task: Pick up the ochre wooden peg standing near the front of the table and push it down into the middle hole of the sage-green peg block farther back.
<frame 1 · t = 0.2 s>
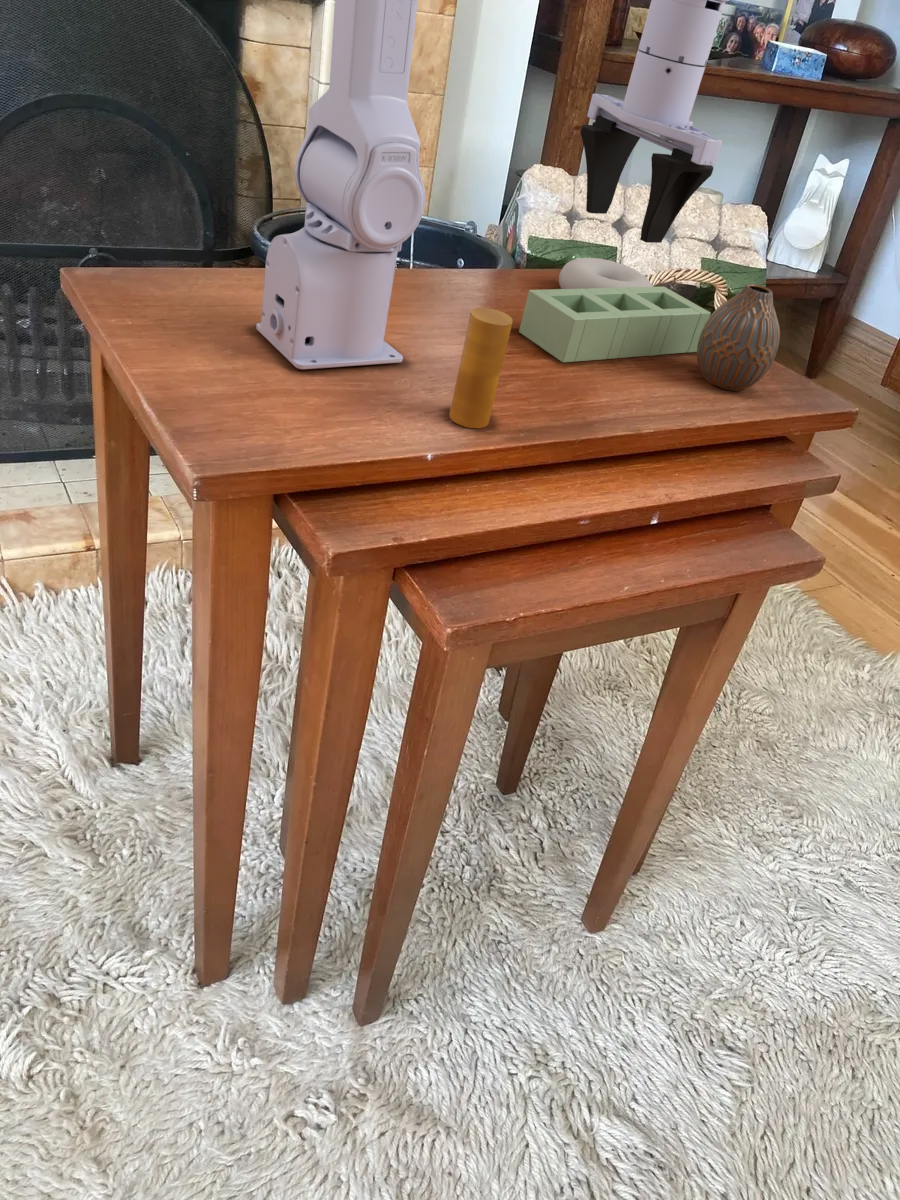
hand: (622, 226, 87), 10 cm above the table, tool pointing down, fingers open, 7 cm apart
peg: (468, 419, 72), on the table
vase: (723, 383, 89), on the table
peg block: (610, 342, 92), on the table
donut: (600, 303, 102), on the table
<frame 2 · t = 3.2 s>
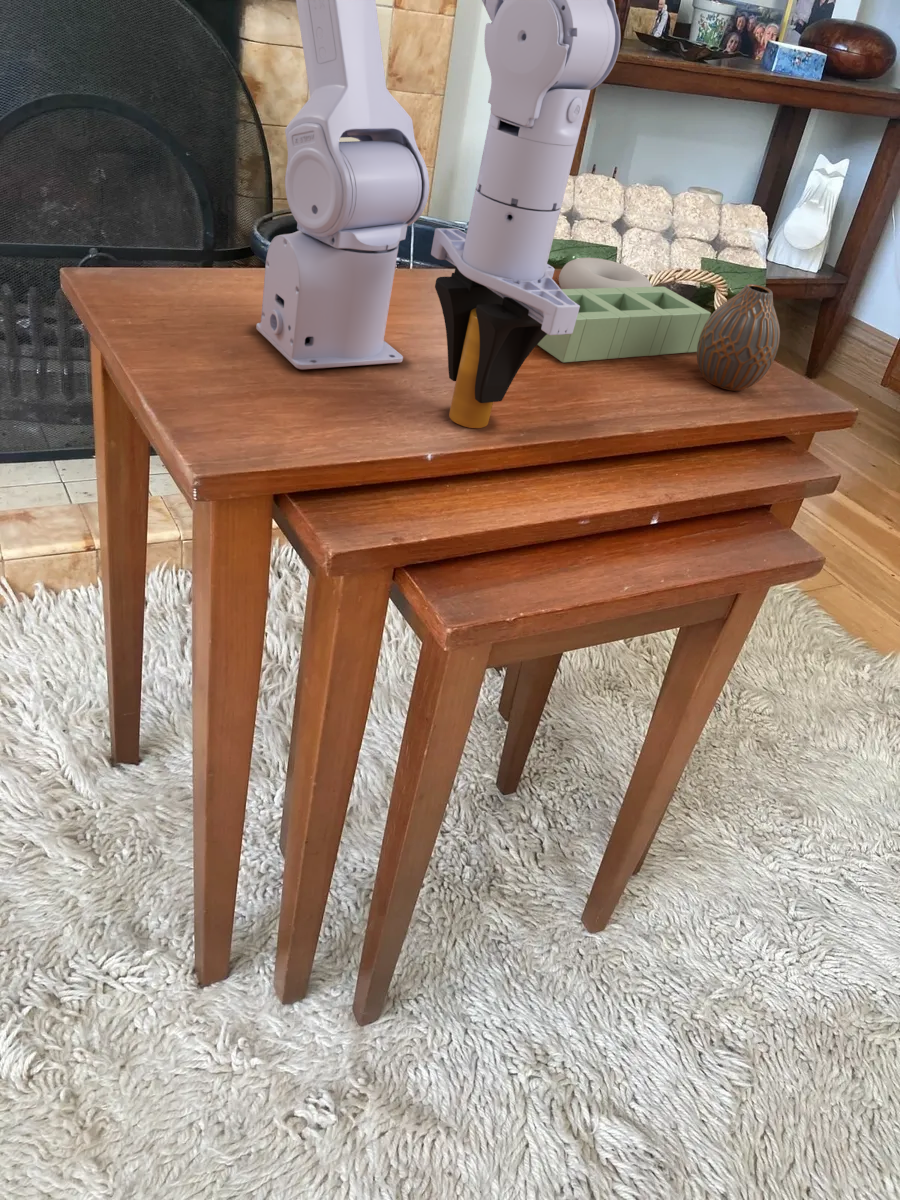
hand: (475, 389, 71), 2 cm above the table, tool pointing down, fingers closed on peg, 3 cm apart
peg: (468, 418, 72), on the table, touching gripper
everything else where it was.
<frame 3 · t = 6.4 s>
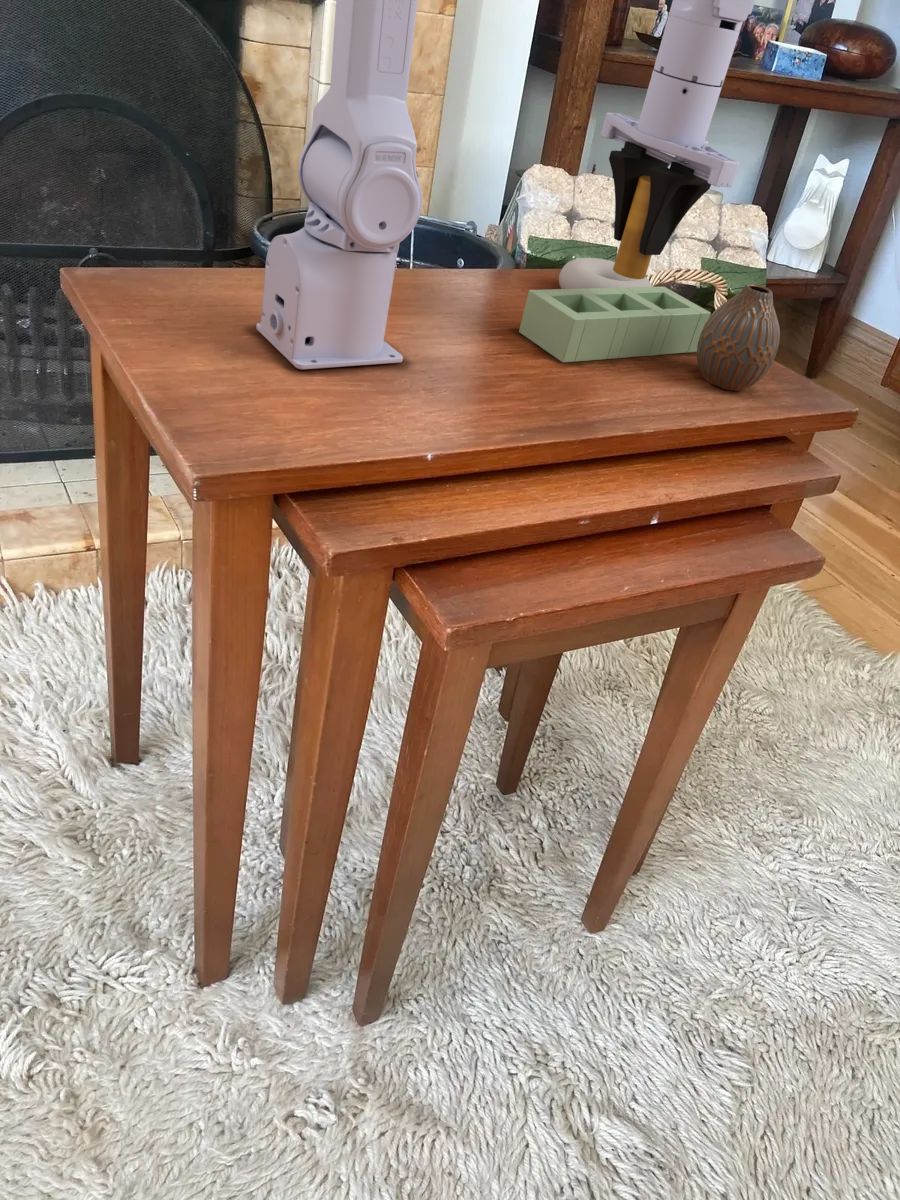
hand: (636, 246, 86), 9 cm above the table, tool pointing down, fingers closed on peg, 3 cm apart
peg: (628, 273, 87), point 7 cm above the table, touching gripper
everything else where it was.
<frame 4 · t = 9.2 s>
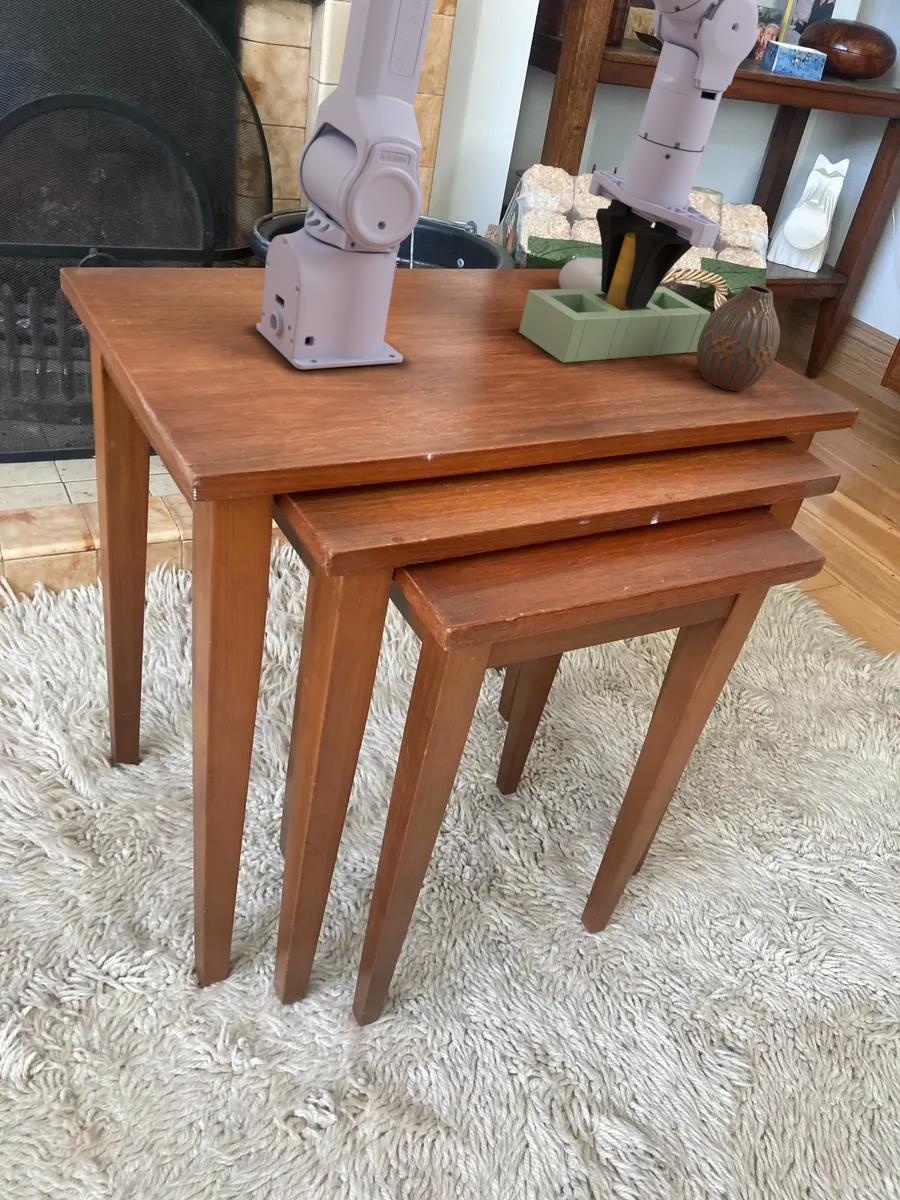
hand: (623, 299, 89), 4 cm above the table, tool pointing down, fingers closed on peg, 3 cm apart
peg: (615, 324, 91), point 2 cm above the table, touching gripper
everything else where it was.
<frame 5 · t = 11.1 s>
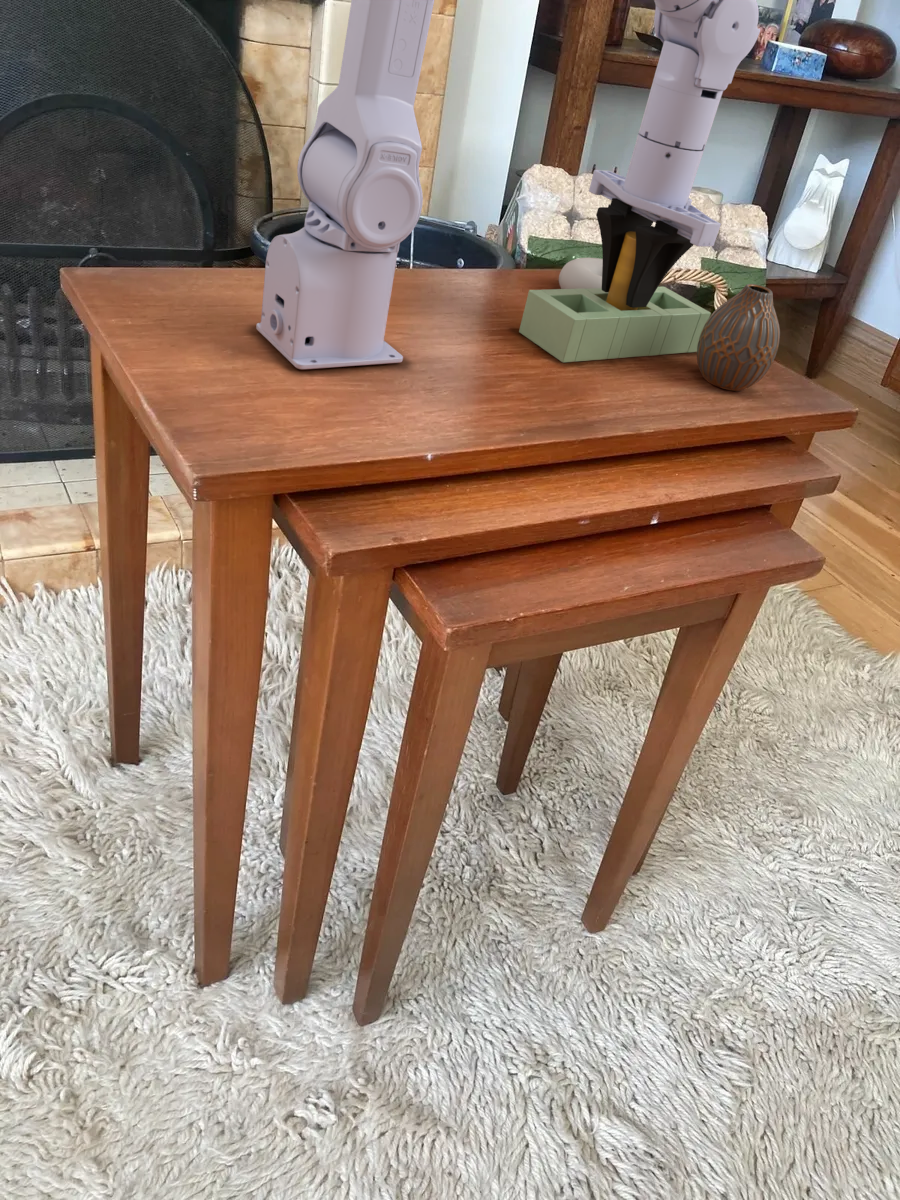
hand: (623, 298, 89), 4 cm above the table, tool pointing down, fingers closed on peg, 3 cm apart
peg: (616, 323, 91), point 2 cm above the table, touching gripper
everything else where it was.
when the fingers open (5 cm above the table, at t = 12.8 s): peg drops 3 cm, resting in peg block.
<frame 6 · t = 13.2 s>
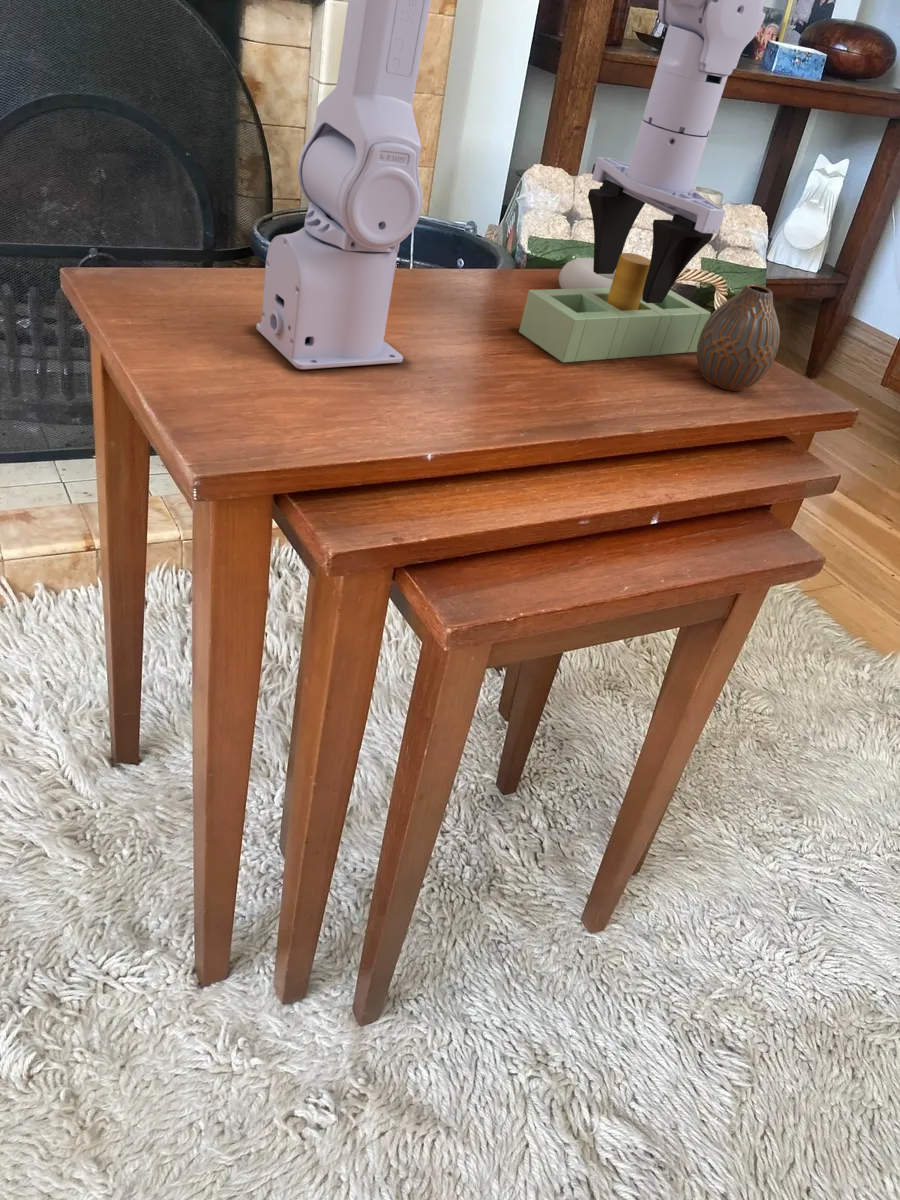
hand: (627, 286, 89), 5 cm above the table, tool pointing down, fingers open, 6 cm apart
peg: (610, 342, 92), resting in peg block
everything else where it was.
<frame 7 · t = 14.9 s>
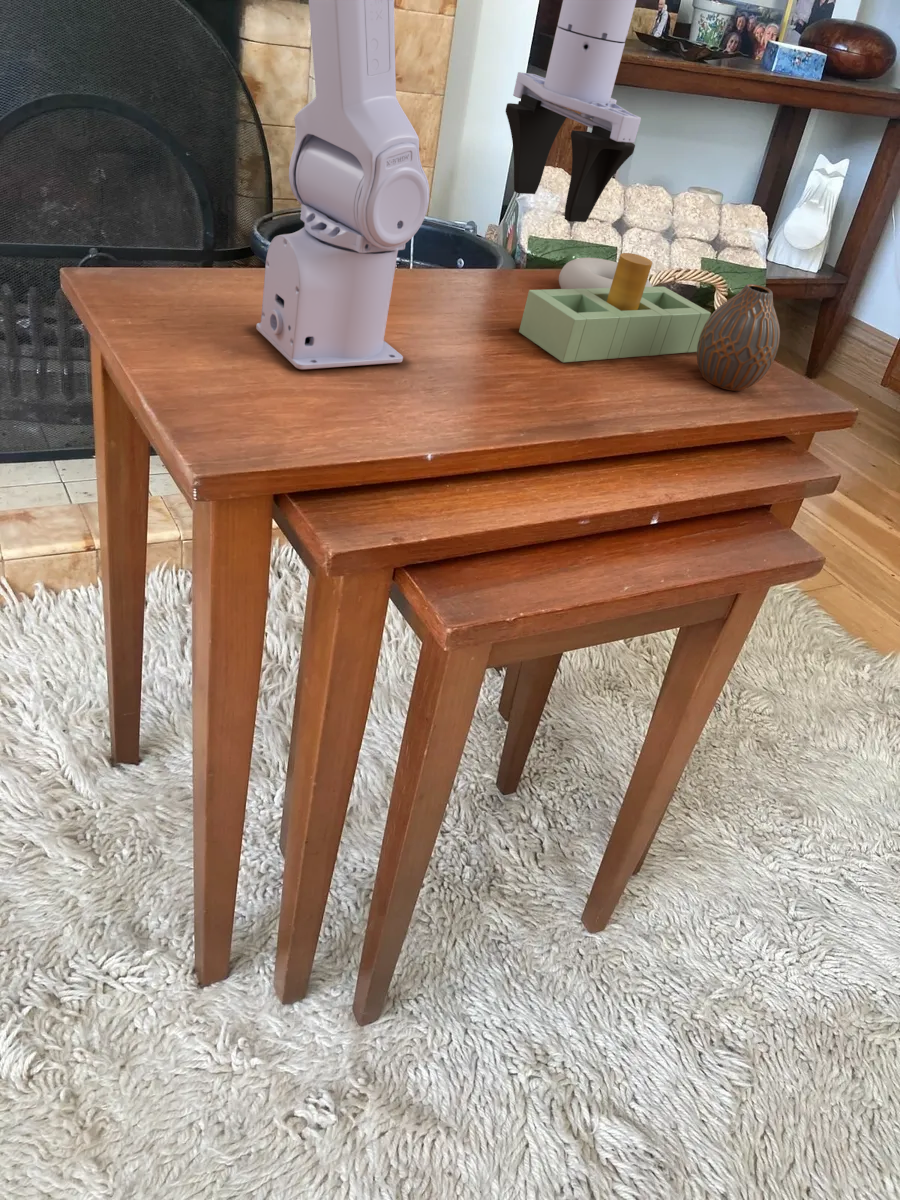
hand: (549, 206, 87), 10 cm above the table, tool pointing down, fingers open, 7 cm apart
nothing on the table moved.
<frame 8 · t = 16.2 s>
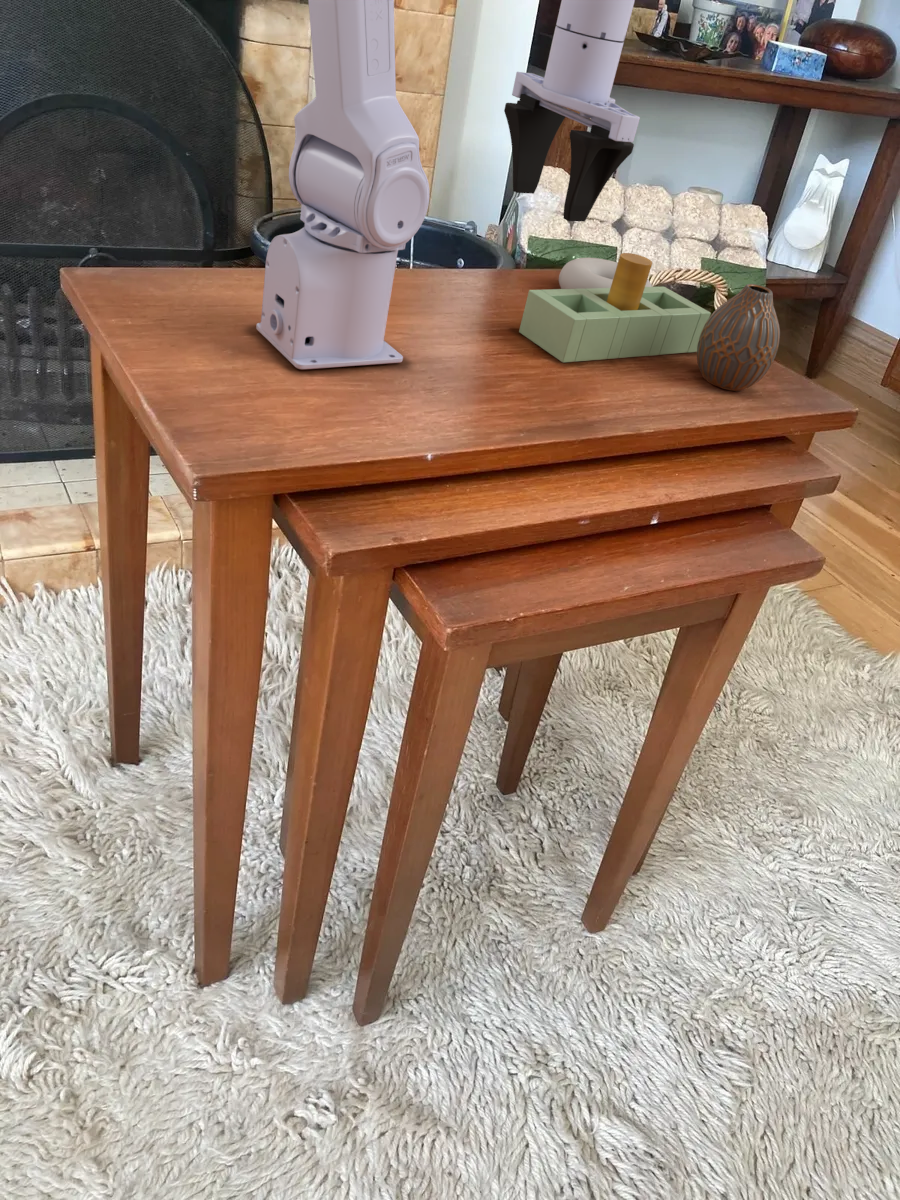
hand: (548, 205, 87), 10 cm above the table, tool pointing down, fingers open, 7 cm apart
nothing on the table moved.
at the end: peg 0.0 cm off-centre in the peg block, point 0.0 cm above the peg block's base; peg tilted 0°; the gripper is holding nothing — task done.
